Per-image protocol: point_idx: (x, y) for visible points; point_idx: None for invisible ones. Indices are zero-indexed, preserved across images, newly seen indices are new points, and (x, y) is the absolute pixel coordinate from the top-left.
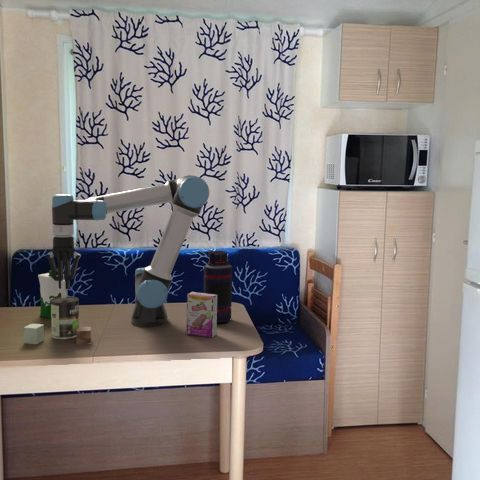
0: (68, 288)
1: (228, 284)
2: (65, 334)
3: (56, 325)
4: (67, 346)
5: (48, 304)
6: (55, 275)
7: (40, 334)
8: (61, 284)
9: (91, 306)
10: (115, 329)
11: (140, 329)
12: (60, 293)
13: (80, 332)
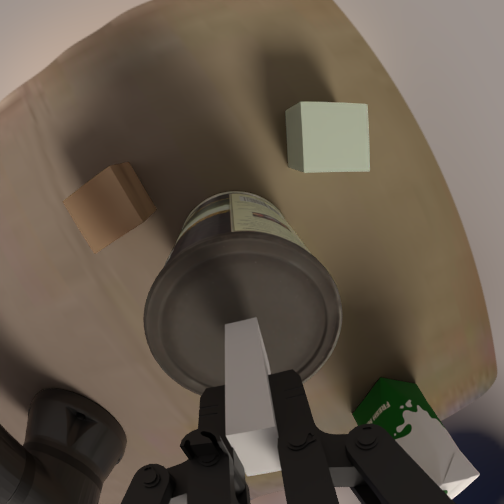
0: (206, 394)
1: None
2: (204, 204)
3: (247, 203)
4: (149, 126)
5: (403, 407)
6: (365, 463)
7: (293, 138)
8: (265, 398)
9: None
10: (106, 354)
11: (48, 367)
12: None
13: (97, 175)
